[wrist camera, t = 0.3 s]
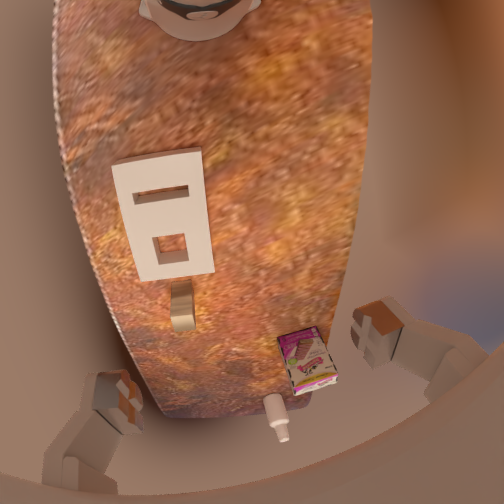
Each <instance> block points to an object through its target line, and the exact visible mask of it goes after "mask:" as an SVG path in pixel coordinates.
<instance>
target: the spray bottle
mask: <svg viewBox="0 0 504 504" xmlns="http://www.w3.org/2000/svg"><path fill="white" fill-rule="evenodd" d="M263 402H264V406H265V410H266V413H267V417H268V421H269V424H270V426H271V427H274V428H275V431H276V433H277V436H278V438H279V442H285V441H288V440H289V436H288V430H287V426H286V424H287V423H288V422H289V418H288V415H287V412H286V409H285V405H284V402H283V399H282V396H281V394H279V393H273V394H269V395H267V396H265V397H264V398H263Z"/></svg>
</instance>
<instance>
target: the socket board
mask: <svg viewBox="0 0 504 504" xmlns="http://www.w3.org/2000/svg"><path fill="white" fill-rule="evenodd" d="M111 167H112V172H113V177H114V182H115V187H116V191H117V196H118V200H119V205H120V209H121V213H122V217H123V221H124V225H125V229H126V233H127V236H128V240H129V244H130V247H131V251H132V254H133V257H134V261H135V264H136V267H137V270H138V274H139V277H140V280H141V282H144V281H152V280H160V279H168V278H175V277H183V276H191V275H198V274H206V273H213V272H215V270H214V262H213V255H212V247H211V239H210V231H209V222H208V214H207V205H206V195H205V186H204V176H203V166H202V155H201V147H193V148H185V149H177V150H171V151H164V152H158V153H152V154H146V155H140V156H135V157H130V158H125V159H120V160H117V161H116V162H115V163H114V164H113V165H112V166H111ZM182 185H188V189H182V190H175V191H168V192H161V193H155V194H148V195H142V196H139V195H138V192H143V191H149V190H155V189H161V188H168V187H175V186H182ZM180 233H184V234H185V240H186V245H187V249H186V250H178V251H171V252H163V253H160V249H159V244H158V240H157V237H158V236H166V235H173V234H180Z"/></svg>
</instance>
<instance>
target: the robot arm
mask: <svg viewBox="0 0 504 504" xmlns="http://www.w3.org/2000/svg"><path fill="white" fill-rule="evenodd" d="M260 3H261V0H141V3H140V7H139V14H140V16H141V17H143V18H145V19H148V20H151V21H154V22H155V23H156V24H157V25H158V26H159V27H160V28H161V29H162V30H163V31H165V32H166V33H167V34H169V35H171V36H173V37H175V38H178V39H182V40H187V41H204V40H209V39H213V38H216V37H219V36H221V35H223V34H225V33H227V32H228V31H230V30H231V29H233V28H234V27H235V26H236V25H237V24H238V23H239V22H240V20H241V19H242V18H243V16H244V15H245V14H247V13H249V12H251V11H253V10H254V9H256V8H258V7H259V6H260ZM353 318H354V320H355V322H354V323H353V324H352V326H351V337H352V340H353V343H354V344H355V346H356V347H357V349H359V350H361V351H364V359H365V360H366V361H367V363H368V364H369V365H370V367H371V368H372V369H374V368H377V367H379V366H381V365H383V364H386V363H388V362H390V361H391V362H392V363H394V364H396V365H398V366H399V367H401V368H404V369H405V370H408V371H409V372H411V373H413V374H415V375H418V376H420V377H421V378H423V379H425V380H427V381H429V382H430V383H429V384H428V386H427V388H426V389H425V391H424V395H425V397H426V398H427V399H428V401H429V402H430V404H429V405H428V406H426V407H425V408H423V409H422V410H420V411H418V412H417V413H415V414H414V415H412V416H411V417H409V418H407V419H406V420H404V421H402V422H401V423H399V424H397V425H396V426H394V427H392V428H390V429H389V430H387V431H385V432H383V433H381V434H379V435H378V436H375V437H373V438H372V439H370V440H368V441H366V442H364V443H362V444H360V445H357V446H355V447H353V448H351V449H349V450H347V451H344V452H342V453H339V454H337V455H335V456H332V457H330V458H327V459H325V460H322V461H320V462H317V463H314V464H312V465H309V466H306V467H303V468H300V469H297V470H294V471H291V472H288V473H285V474H281V475H278V476H274V477H271V478H267V479H263V480H259V481H255V482H250V483H247V484H241V485H237V486H232V487H226V488H221V489H214V490H207V491H199V492H191V493H181V494H165V495H118V490H117V482H116V481H115V480H113V479H112V478H109V477H108V476H106V475H104V473H105V471H106V469H107V467H108V465H109V463H110V461H111V459H112V457H113V455H114V453H115V451H116V449H117V447H118V445H119V443H120V441H121V439H122V437H123V436H122V435H129V434H138V433H143V417H142V416H141V415H140V413H139V412H140V410H141V409H142V407H143V399H142V395H141V392H140V389H139V387H138V386H137V384H136V383H135V382H132V381H130V375H129V373H128V372H127V371H126V370H116V371H107V372H98V373H88V374H87V375H86V377H85V380H84V386H83V391H82V397H81V403H80V410H79V411H76V412H75V413H74V415H73V416H72V417H71V418H70V420H69V421H68V422H67V424H66V425H65V426H64V427H63V429H62V430H61V431H60V433H59V434H58V435H57V437H56V438H55V439H54V441H53V442H52V443H51V445H50V446H49V447H48V449H47V450H46V451H45V453H44V460H43V471H42V484H40V483H36V482H32V481H28V480H25V479H20V478H18V477H14V476H11V475H8V474H5V473H2V472H0V504H504V342H503V343H502V344H501V345H500V346H499V347H498V348H497V349H496V350H495V351H494V352H493V353H492V354H491V355H490V356H489V355H488V354H487V353H486V352H485V351H484V350H483V349H482V348H481V347H480V346H479V345H478V344H477V343H476V342H475V341H474V340H473V339H472V338H471V337H470V336H469V335H467V334H463V333H460V332H457V331H454V330H451V329H448V328H445V327H442V326H438V325H435V324H432V323H429V322H426V321H423V320H420V319H418V320H415V319H414V318H413V317H412V316H411V315H410V314H409V313H408V312H407V311H406V310H405V309H404V308H403V307H402V306H401V305H400V304H399V303H398V302H397V301H396V300H395V299H394V298H393V297H391V296H387V297H384V298H382V299H379V300H377V301H374V302H371V303H369V304H366V305H364V306H361V307H359V308H356V309H355V310H354V312H353Z"/></svg>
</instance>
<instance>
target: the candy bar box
mask: <svg viewBox="0 0 504 504" xmlns="http://www.w3.org/2000/svg"><path fill="white" fill-rule="evenodd" d="M277 340H278V347H279V351H280V354H281V357H282V360H283V363H284V366H285V369H286V372H287V375H288V378H289V381H290V384H291V388H292V391H293V394H294V396H296V395H300V394H303V393H306V392H310V391H313V390H316V389H319V388H322V387H325V386H328V385H331V384H334V383H337V377H338V372H337V370H336V367H335V365H334V363H333V361H332V359H331V357H330V354H329V353H328V350H327V348H326V346H325V344H324V342H323V339H322V337H321V335H320V333H319V331H318V329H317V327H316V326H315V327H311V328H308V329H305V330H301V331H298V332H295V333H291V334H288V335H284V336H280V337H277Z"/></svg>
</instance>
